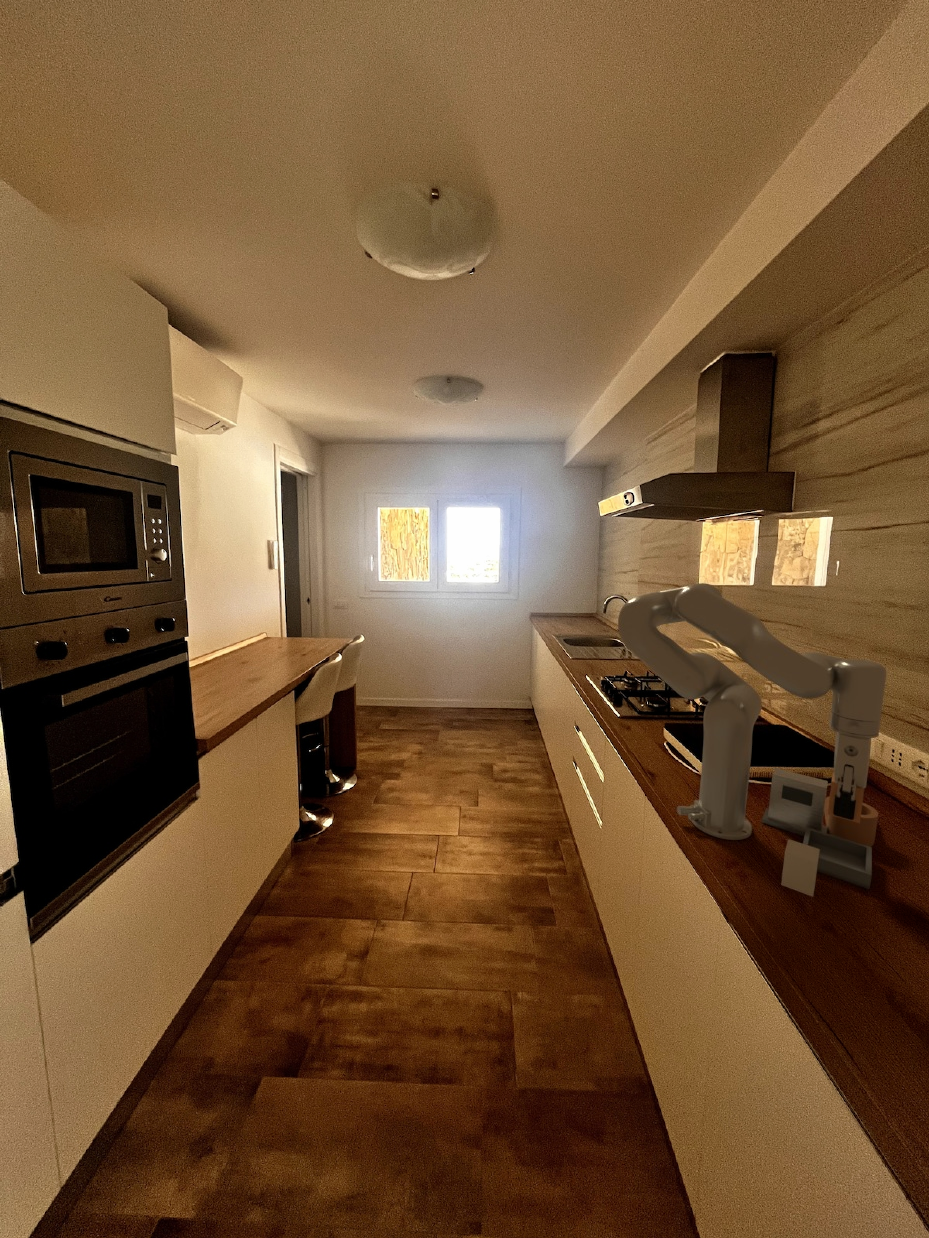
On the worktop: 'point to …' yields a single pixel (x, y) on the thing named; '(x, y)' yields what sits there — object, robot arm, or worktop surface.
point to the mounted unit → (796, 802)
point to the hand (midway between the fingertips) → (843, 809)
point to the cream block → (800, 867)
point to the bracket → (853, 825)
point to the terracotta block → (858, 798)
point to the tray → (841, 857)
